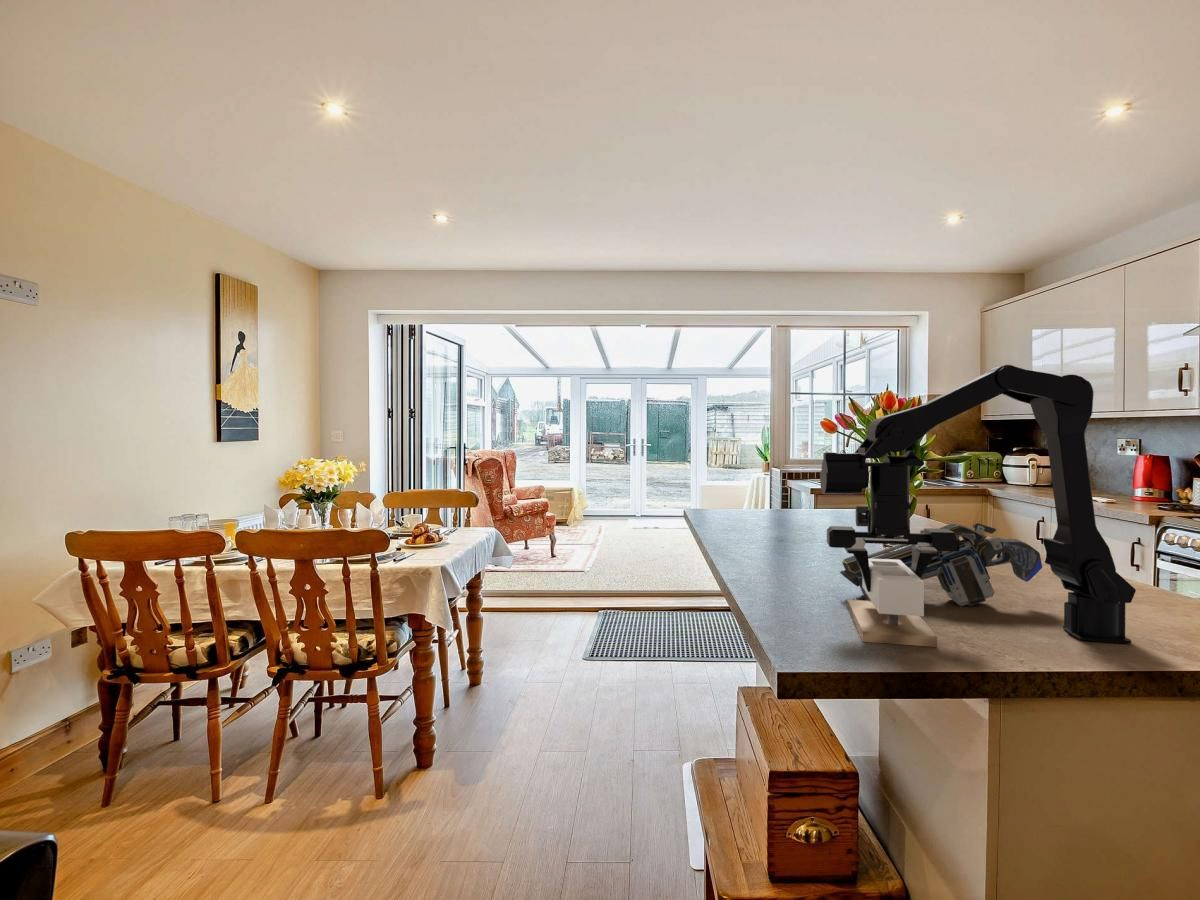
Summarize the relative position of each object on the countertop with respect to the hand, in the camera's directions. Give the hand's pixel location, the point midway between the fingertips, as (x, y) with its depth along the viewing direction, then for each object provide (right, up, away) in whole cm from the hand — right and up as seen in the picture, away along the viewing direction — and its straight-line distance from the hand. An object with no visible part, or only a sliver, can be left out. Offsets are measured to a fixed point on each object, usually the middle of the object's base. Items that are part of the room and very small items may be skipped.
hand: (890, 592), depth 101 cm
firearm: (+16, -6, +17) cm, 24 cm away
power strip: (0, -1, 0) cm, 1 cm away
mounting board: (0, -6, +2) cm, 6 cm away
